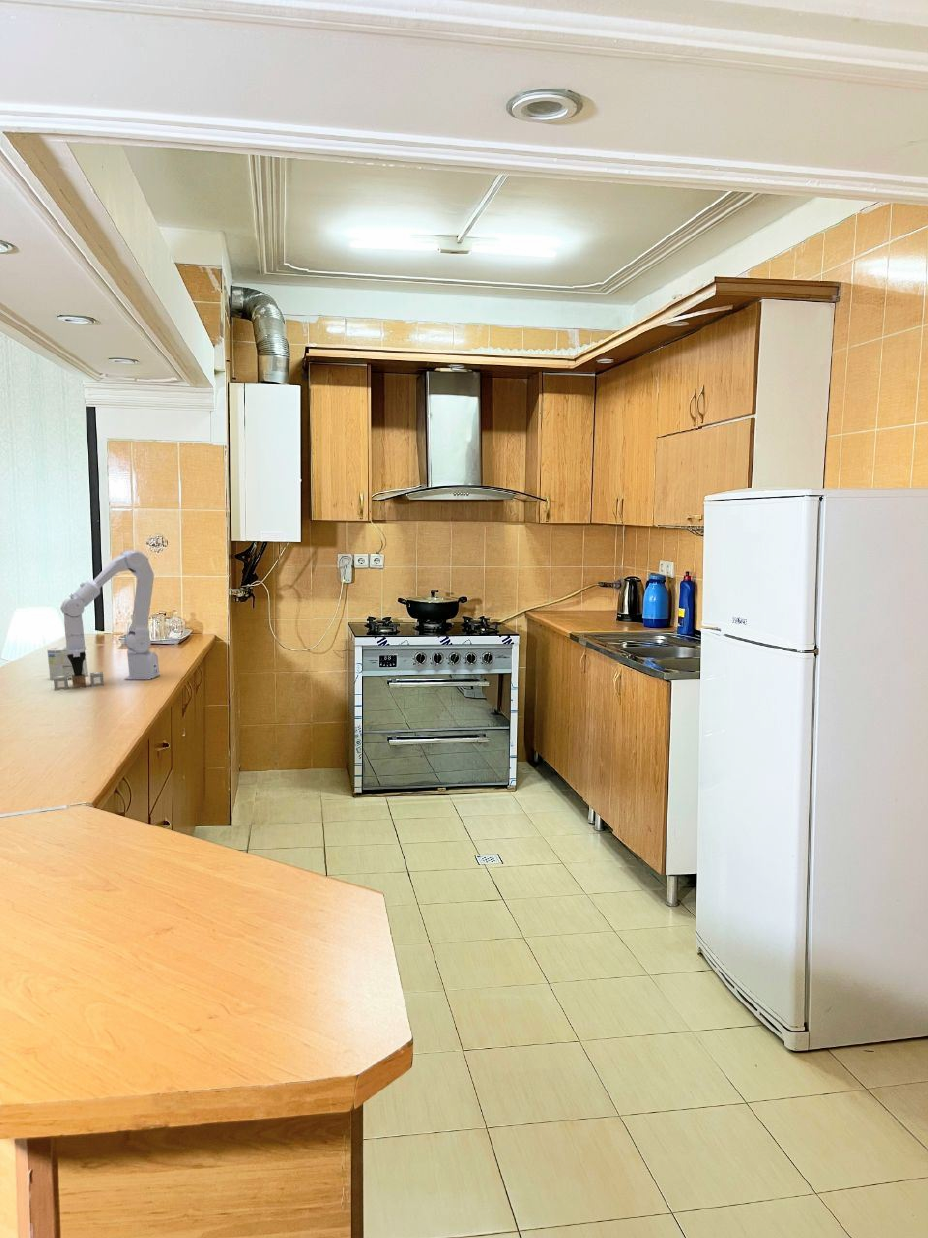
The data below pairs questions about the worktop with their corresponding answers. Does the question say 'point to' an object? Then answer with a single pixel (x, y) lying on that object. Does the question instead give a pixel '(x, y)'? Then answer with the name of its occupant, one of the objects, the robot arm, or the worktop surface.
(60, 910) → the worktop surface
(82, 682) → the plain walnut block
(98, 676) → the marked grey block 2
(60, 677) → the marked grey block 1
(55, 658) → the light bulb box
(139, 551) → the robot arm
